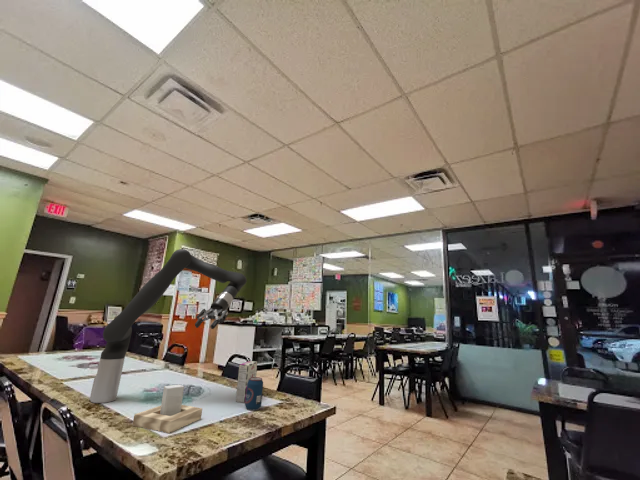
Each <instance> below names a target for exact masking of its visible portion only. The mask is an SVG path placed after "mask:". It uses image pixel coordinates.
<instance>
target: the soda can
mask: <svg viewBox="0 0 640 480" xmlns="http://www.w3.org/2000/svg"><path fill="white" fill-rule="evenodd" d="M263 390H264V381H263V377H260V376H259V377H258V376H256V377H251V378H249V381H248V383H247V392H246V401H245V403H244V406H245V408H246V410H247V411H258V410H260V408H261V407H262V404H263V403H262V402H263V401H262V400H263V392H264V391H263Z"/></svg>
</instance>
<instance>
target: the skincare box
mask: <svg viewBox="0 0 640 480" xmlns="http://www.w3.org/2000/svg"><path fill="white" fill-rule="evenodd" d="M184 391H185V386H184V385H182V384H174V385H165V386H163V390H162V397H161V398H162V399H161V402H160V403H161V404H160V406H161V410H160V414H161V415H167V416H172V415H175V414H177V413H180V412H181V405H183V397H184Z"/></svg>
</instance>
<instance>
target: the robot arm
mask: <svg viewBox="0 0 640 480" xmlns="http://www.w3.org/2000/svg"><path fill="white" fill-rule="evenodd" d="M185 269H187V270H192V271H195V272H196V273H199V274H201V275H203V276H205V277H207V278H209V279H211V280H214V281H217V282H219V283H222V284H225V283H227V282H229V283H228V284H227V285H226V287H225V288H224V289H223V291H221V293H220V294H218V296H217V297H216V298H215V299H214V301H213V302H212V303H211V304H210V308H208V309H206V308H202V310H201V311H200V312H199V313H198V314H197V315H196V319H197V320H196V322H195V323H194V325H195V326H194V327H195V328H196V329H198V328H200V326H201V324H203V322H205V321H209V320H213V321H212V323H210V329H211V330H214V329H215V328H216V327H217V326H218V325H219V324H220V323H221V324H223V323H224V322H225V320H226V319H227V317H228V316H229V312H228V309H229V308H230V306H231V304H232V303H233V301H234V299H236V297H237V295H238V293H239V292H240V291H241V289H242V288H243V287H244V286H246V284H247V277H246V276H245V275H244V274H243V273H240V272H237V271H230V270H226V269H225V268H222V267H219V266H217V265H215V264H211V263H209V262H206V261H204V260H202V259H199V258H197V257H195V256H193V255H192V254H191V252H189V250H187V249H183V248H181V249H180V248H179V249H177V250H175V251H174V252H173V253H172V254H171V256H170V257H169V259H168V261H167V262H166V263H165V264H164V266H163V267H162V268H161V269H160V270H159V271H158V272H157V273H156V274H155V275H154V276H152V277H150V279H149V280H148V281H147V282H146V283H145V284H144V285H143V286H142V287H141V288H140V290H139V291H138V292H137V293H136V295H135V296H134V297H133V298H132V299H131V300H130V302H129V303H128V304H126V307H125V308H124V309H123V310H122V311H121V312H119V313H118V315H117V316H115V318H114V319H113V320H111V321H110V322H109V323H108V324H107V325H106V326H105V328H104V329H103V333H102V338H103V340H104V341H105V342H106V344H105V347H104V349H103V350H102V351H101V353H100V357H99V362H98V366H97V372H96V375H95V376H94V377H93V382H92V387H91V391H90V395H89V401H90V402H91V403H95V404H102V403H103V404H105V403H110V402H113V401H116V400H117V398H118V393H119V387H120V383H121V379H122V373H123V368H124V362H125V360H126V359H125V358H126V354H127V352H128V350H129V346H130V342H131V336H132V331H133V328H132V326H133V325H134V323H135V322H136V321H137V320H138V319H139V318H140V317H141V316H142V315H144V314H145V313H146V312H147V311H148V310H150V309H151V308H152V307H153V306H154V305H155V304H156V303H157V302H158V301H159V300H160V298H161V297H162V296H163V295H164V294H165V292H166V291H167V290H168V288H169V286H170V285H171V284H172V282H173V281H174V279H175V278H176V277H177V276H178V275H179V274H180V273H181V272H182V271H183V270H185Z"/></svg>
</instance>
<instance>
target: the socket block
mask: <svg viewBox="0 0 640 480" xmlns="http://www.w3.org/2000/svg"><path fill="white" fill-rule="evenodd" d="M160 410H161V405H159V406H155V407H152V408H149V409H147V410H143V411H140V412H137V413H135V414H134V415H133V420H132V424H131V425H132V426H133V427H137V428H141V427H143V428H142V429H146V428H147V430H151V429H152V431H155V430H158V431H157V432H160V431H163V432H162V433H165V432H166V433H165V434H171V433H173V432H175V431H177V430H179V429H182V428H183V426H184V427H186V426H187V425H190V424H192V422H193V423H194V422H197V421H199V420H201V419H202V413H203V408H201V407H196V406H189V405H185V404H182V405H181V412H180V413H177V414H175V415H172V416H167V415H161V414H160ZM181 427H182V428H181ZM170 432H171V433H170Z"/></svg>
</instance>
